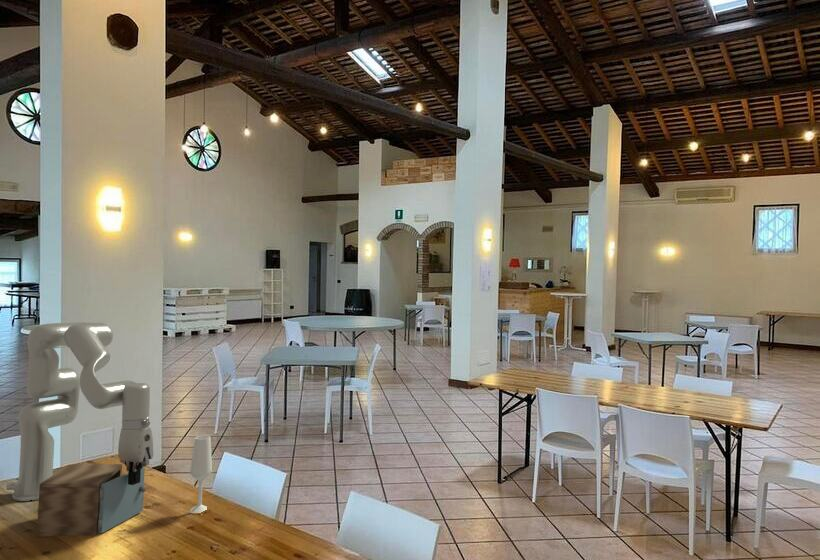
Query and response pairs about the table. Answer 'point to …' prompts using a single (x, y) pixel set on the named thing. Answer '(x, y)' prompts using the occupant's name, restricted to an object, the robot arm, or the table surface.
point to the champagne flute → (201, 466)
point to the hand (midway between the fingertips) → (134, 483)
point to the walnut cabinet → (73, 499)
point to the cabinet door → (119, 501)
